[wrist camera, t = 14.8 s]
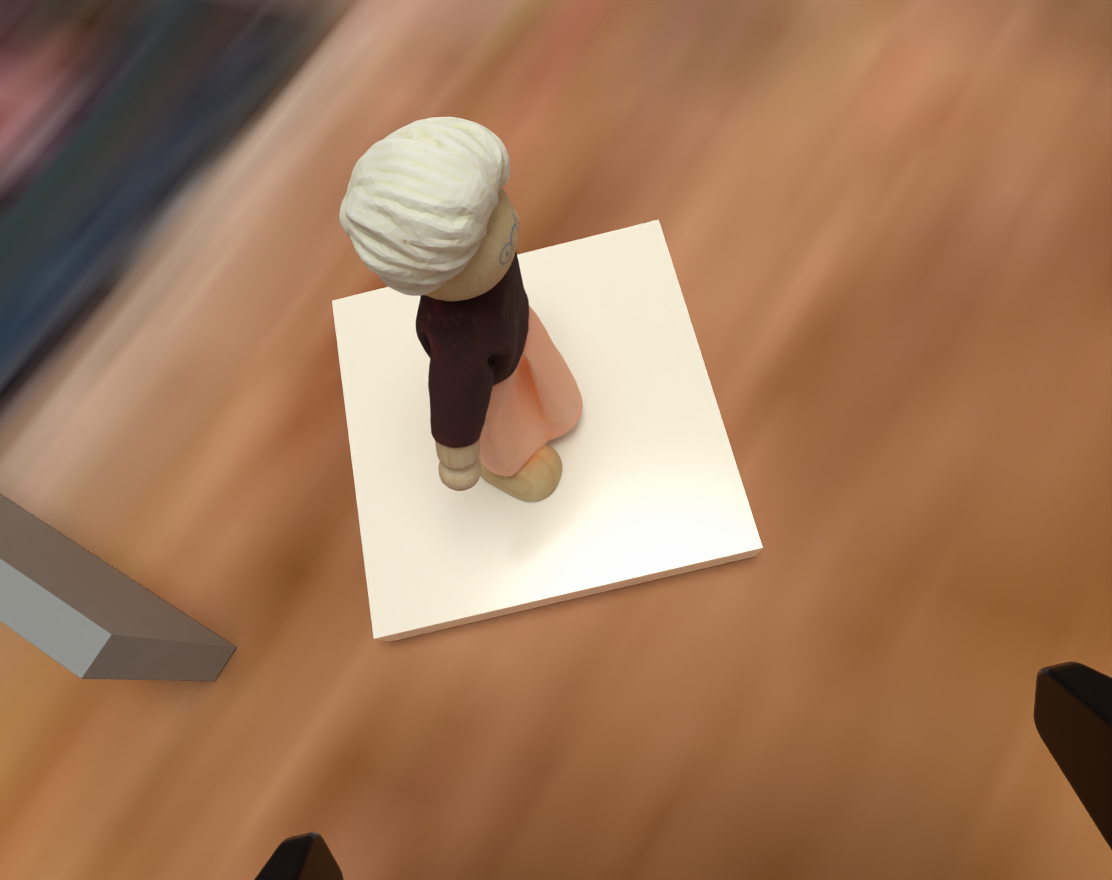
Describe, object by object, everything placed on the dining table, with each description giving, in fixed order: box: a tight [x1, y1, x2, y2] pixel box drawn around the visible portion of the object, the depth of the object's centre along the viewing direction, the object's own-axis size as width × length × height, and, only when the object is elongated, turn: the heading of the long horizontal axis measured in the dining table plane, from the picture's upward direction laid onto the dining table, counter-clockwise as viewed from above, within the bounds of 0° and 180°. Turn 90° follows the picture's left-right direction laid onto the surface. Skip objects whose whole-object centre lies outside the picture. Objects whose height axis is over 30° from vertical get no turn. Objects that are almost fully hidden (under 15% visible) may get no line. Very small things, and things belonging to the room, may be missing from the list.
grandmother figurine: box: [339, 117, 583, 502], centre depth 18 cm, size 8×4×13 cm, turn 4°
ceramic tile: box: [332, 220, 763, 642], centre depth 24 cm, size 12×12×2 cm
